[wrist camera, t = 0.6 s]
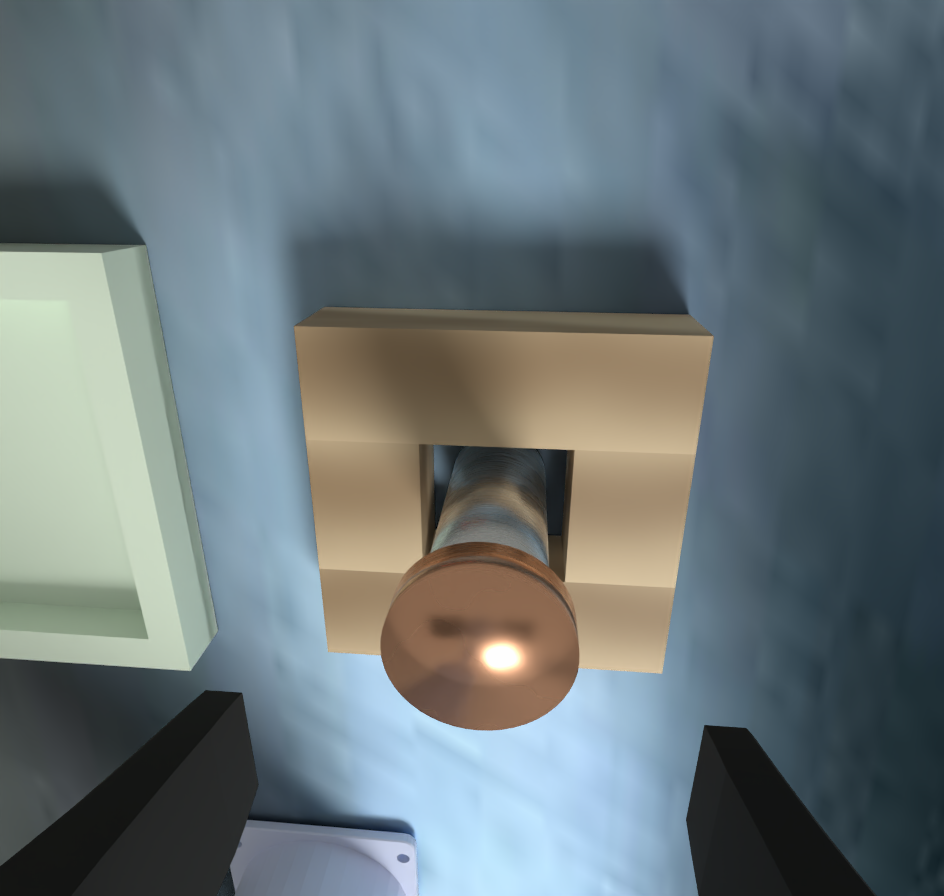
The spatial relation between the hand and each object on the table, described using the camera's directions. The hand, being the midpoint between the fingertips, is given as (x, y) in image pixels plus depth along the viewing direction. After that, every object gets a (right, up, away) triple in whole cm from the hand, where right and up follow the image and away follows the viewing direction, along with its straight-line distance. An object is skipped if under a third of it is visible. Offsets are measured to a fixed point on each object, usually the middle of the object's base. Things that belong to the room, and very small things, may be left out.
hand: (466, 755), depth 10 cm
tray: (-14, +5, +11) cm, 18 cm away
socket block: (+1, +4, +9) cm, 10 cm away
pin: (+1, +4, +9) cm, 10 cm away
